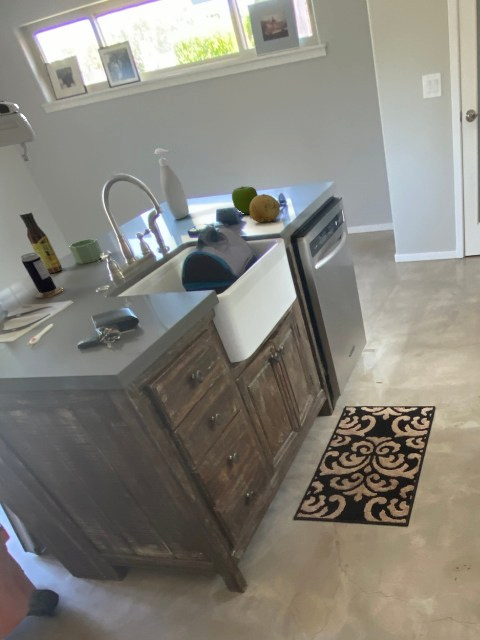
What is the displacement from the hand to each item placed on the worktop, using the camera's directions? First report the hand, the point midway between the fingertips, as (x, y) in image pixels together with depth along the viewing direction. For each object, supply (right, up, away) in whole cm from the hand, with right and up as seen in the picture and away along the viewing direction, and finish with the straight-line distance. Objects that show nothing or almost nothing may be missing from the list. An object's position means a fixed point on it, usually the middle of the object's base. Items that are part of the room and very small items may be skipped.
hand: (12, 163), depth 166 cm
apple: (+59, +22, +66) cm, 91 cm away
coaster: (+4, -37, +12) cm, 39 cm away
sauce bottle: (-7, -20, +32) cm, 39 cm away
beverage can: (+4, -37, +11) cm, 39 cm away
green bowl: (+2, -11, +40) cm, 41 cm away
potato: (+71, +9, +50) cm, 87 cm away
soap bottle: (+25, +27, +77) cm, 86 cm away
